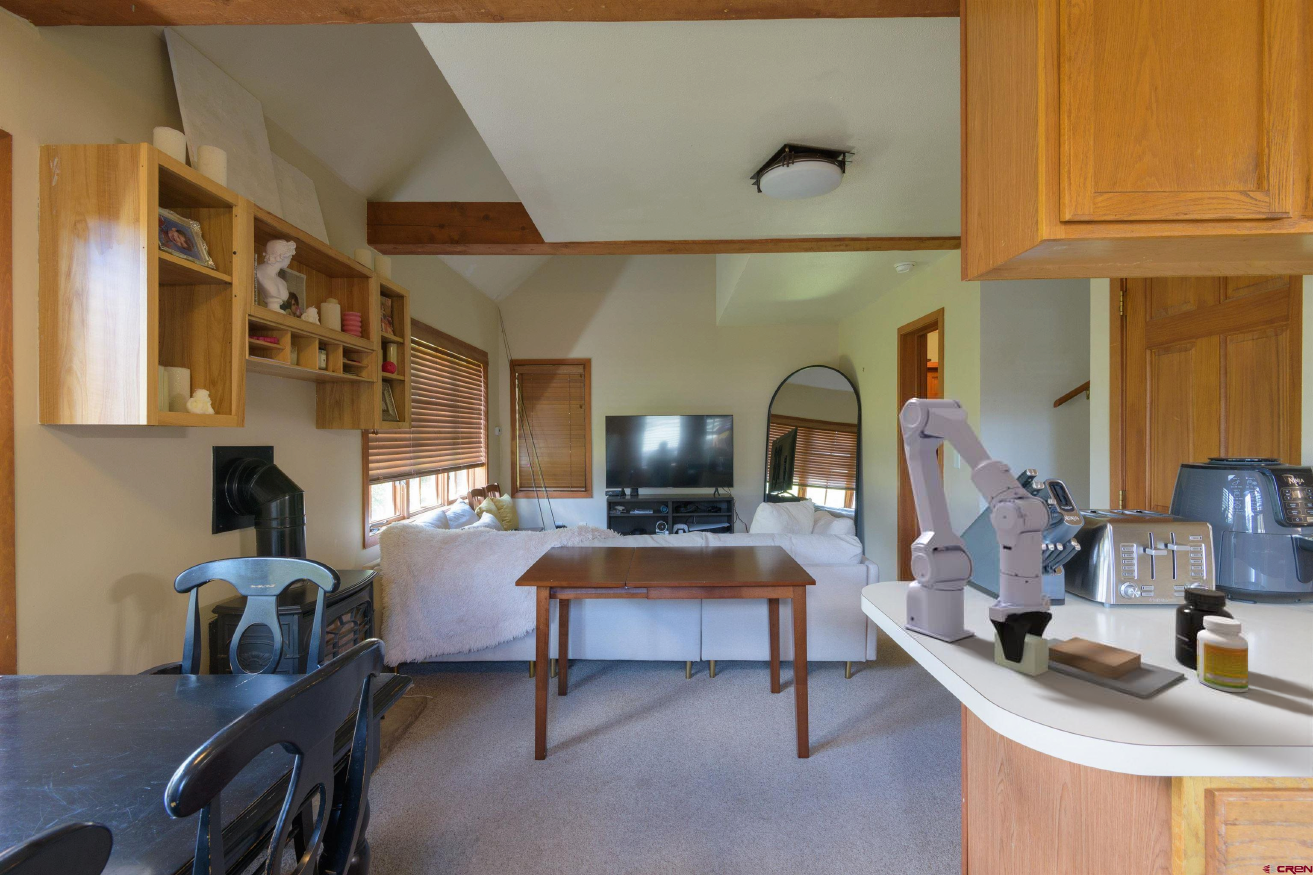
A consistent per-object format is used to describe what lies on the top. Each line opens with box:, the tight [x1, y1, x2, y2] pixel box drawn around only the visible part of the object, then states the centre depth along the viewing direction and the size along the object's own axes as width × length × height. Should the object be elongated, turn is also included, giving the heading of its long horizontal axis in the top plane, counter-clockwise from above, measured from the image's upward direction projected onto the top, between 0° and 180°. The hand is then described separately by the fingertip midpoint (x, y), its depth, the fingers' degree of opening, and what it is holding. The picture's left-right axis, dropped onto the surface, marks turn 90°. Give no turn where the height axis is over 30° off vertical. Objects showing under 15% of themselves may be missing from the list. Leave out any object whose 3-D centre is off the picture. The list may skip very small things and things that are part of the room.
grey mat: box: [1048, 637, 1185, 700], centre depth 92 cm, size 18×14×1 cm
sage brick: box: [994, 631, 1049, 677], centre depth 92 cm, size 6×4×5 cm, turn 31°
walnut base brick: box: [1049, 636, 1142, 680], centre depth 92 cm, size 9×9×2 cm
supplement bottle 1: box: [1174, 587, 1235, 671], centre depth 92 cm, size 7×7×12 cm
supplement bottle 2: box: [1196, 616, 1249, 693], centre depth 85 cm, size 5×5×10 cm
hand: (1020, 657), depth 92 cm, fingers closed on sage brick, 4 cm apart
